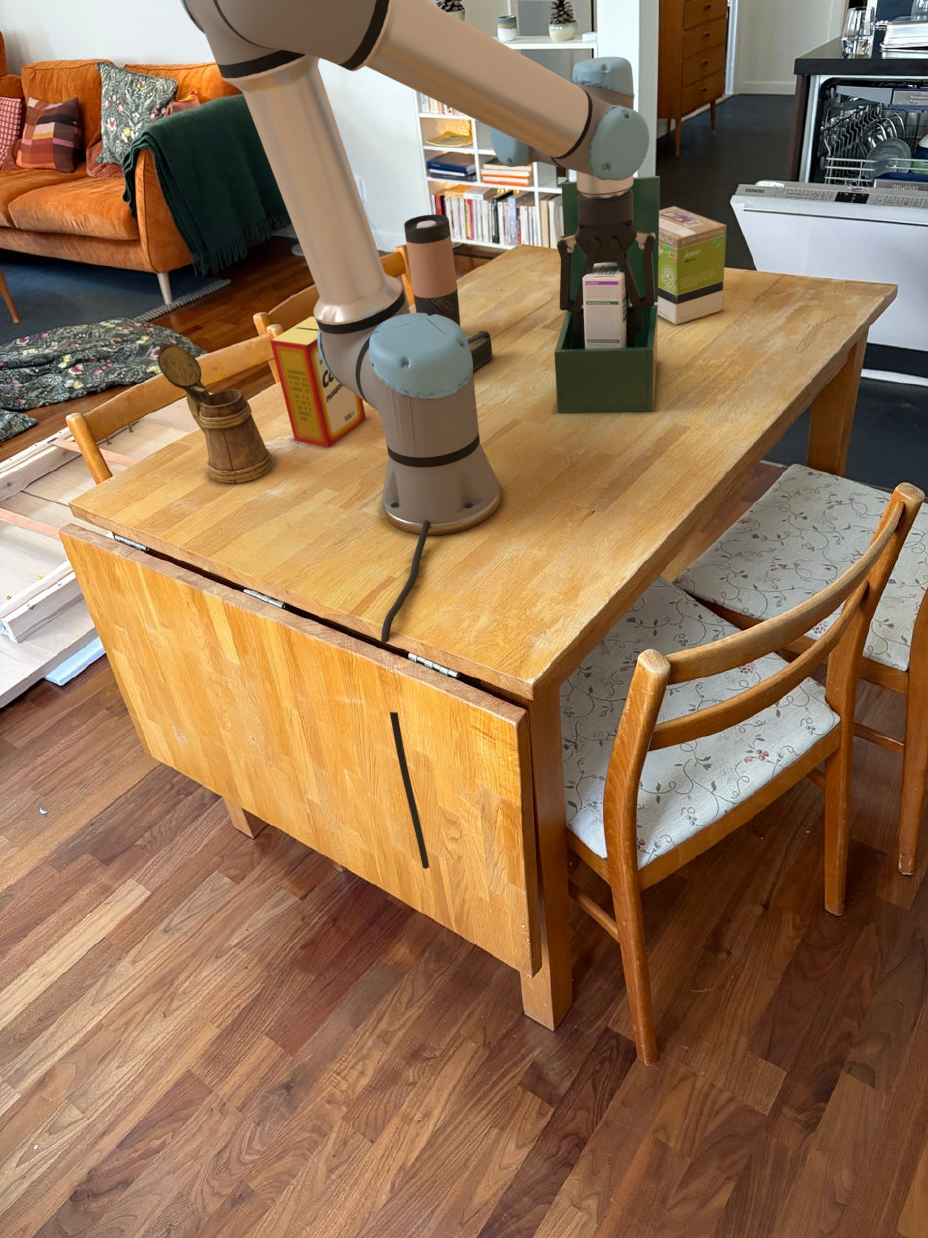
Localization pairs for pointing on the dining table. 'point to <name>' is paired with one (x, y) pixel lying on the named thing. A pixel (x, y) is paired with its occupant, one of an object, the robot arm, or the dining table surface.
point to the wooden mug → (218, 420)
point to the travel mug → (432, 266)
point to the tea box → (689, 265)
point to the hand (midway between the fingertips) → (608, 353)
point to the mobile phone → (480, 348)
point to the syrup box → (605, 307)
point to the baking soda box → (313, 389)
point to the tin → (607, 371)
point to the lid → (643, 219)
